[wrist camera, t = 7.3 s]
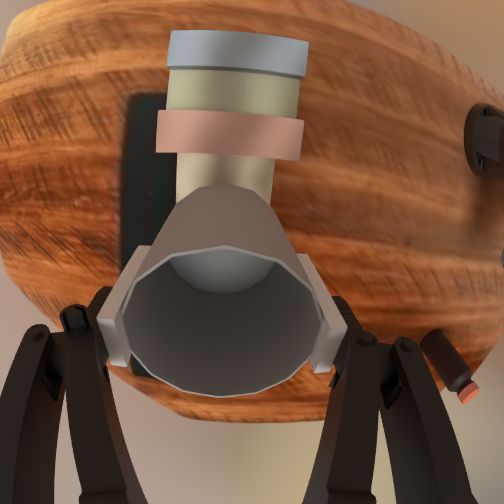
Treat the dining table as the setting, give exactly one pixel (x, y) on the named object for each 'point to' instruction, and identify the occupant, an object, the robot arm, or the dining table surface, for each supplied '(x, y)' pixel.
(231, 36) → the pastel book stand
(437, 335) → the bottle
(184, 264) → the cup
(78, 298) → the dining table surface
